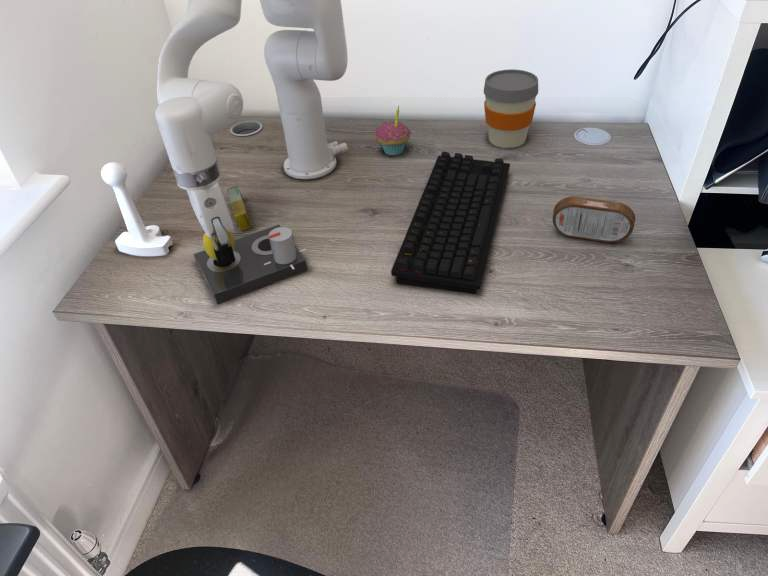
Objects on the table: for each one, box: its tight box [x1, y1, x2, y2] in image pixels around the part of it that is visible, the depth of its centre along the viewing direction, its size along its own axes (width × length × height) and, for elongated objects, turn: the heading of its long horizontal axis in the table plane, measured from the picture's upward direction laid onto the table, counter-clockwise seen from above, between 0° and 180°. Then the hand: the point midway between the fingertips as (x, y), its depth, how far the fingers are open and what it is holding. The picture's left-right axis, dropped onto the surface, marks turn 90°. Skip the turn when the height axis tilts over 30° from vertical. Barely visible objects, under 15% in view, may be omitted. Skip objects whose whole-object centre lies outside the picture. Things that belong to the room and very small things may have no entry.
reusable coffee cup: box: [483, 68, 539, 149], centre depth 147 cm, size 12×13×15 cm
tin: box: [552, 195, 636, 244], centre depth 118 cm, size 15×3×8 cm, turn 71°
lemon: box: [202, 229, 235, 260], centre depth 116 cm, size 6×6×8 cm
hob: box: [193, 224, 308, 305], centre depth 119 cm, size 19×15×3 cm
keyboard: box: [390, 151, 511, 295], centre depth 125 cm, size 42×16×5 cm, turn 165°
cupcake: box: [374, 105, 412, 156], centre depth 147 cm, size 9×8×12 cm
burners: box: [207, 235, 272, 272], centre depth 120 cm, size 15×6×1 cm, turn 118°
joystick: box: [100, 161, 174, 257], centre depth 122 cm, size 11×8×20 cm
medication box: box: [226, 185, 253, 232], centre depth 132 cm, size 12×3×4 cm, turn 19°
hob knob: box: [268, 226, 297, 264], centre depth 116 cm, size 4×4×6 cm
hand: (222, 253), depth 117 cm, fingers closed on lemon, 5 cm apart
